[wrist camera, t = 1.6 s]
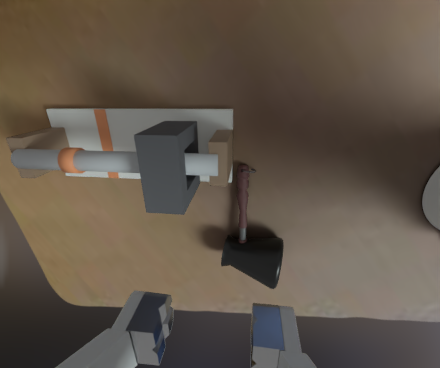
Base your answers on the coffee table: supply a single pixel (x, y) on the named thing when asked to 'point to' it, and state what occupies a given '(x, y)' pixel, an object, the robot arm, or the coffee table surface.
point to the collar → (167, 165)
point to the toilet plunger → (252, 244)
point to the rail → (120, 143)
